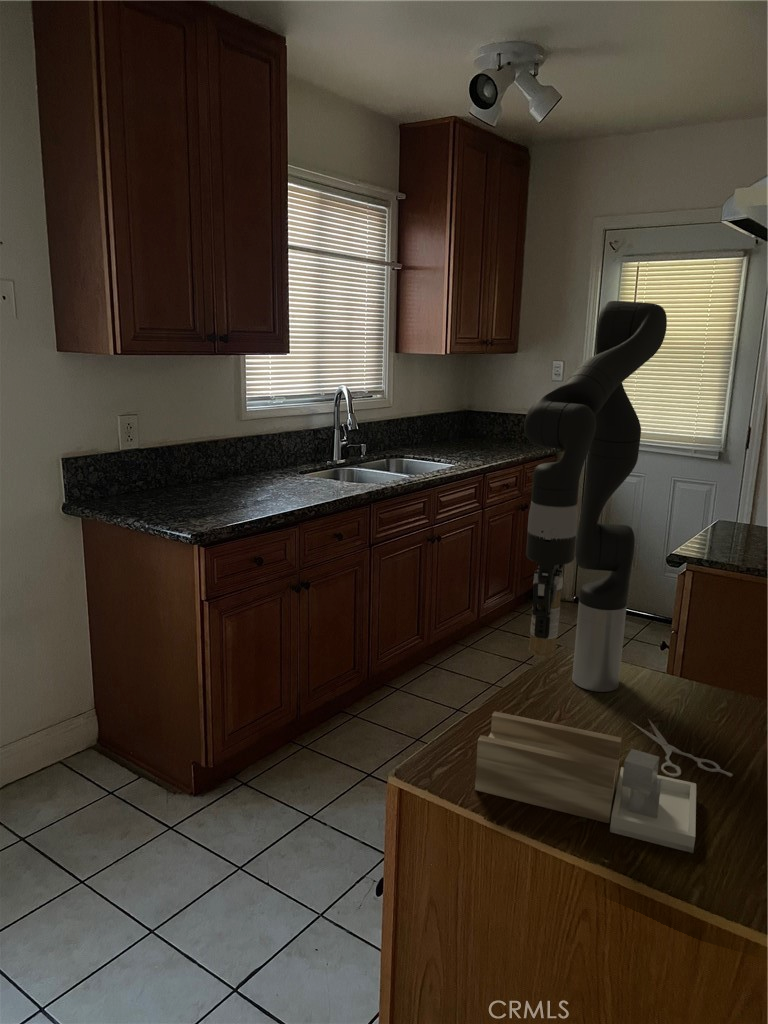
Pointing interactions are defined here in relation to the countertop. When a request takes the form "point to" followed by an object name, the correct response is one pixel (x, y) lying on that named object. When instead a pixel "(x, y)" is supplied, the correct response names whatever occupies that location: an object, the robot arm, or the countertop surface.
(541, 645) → the sprinkles bottle
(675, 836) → the tray
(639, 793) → the dark grey cube
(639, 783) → the grey cube
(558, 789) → the channel
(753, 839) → the countertop surface
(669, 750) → the scissors
